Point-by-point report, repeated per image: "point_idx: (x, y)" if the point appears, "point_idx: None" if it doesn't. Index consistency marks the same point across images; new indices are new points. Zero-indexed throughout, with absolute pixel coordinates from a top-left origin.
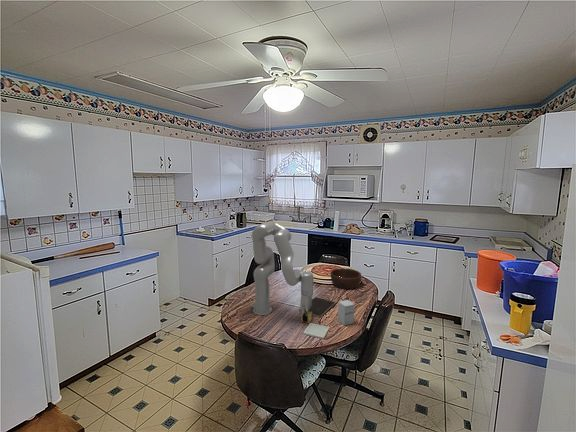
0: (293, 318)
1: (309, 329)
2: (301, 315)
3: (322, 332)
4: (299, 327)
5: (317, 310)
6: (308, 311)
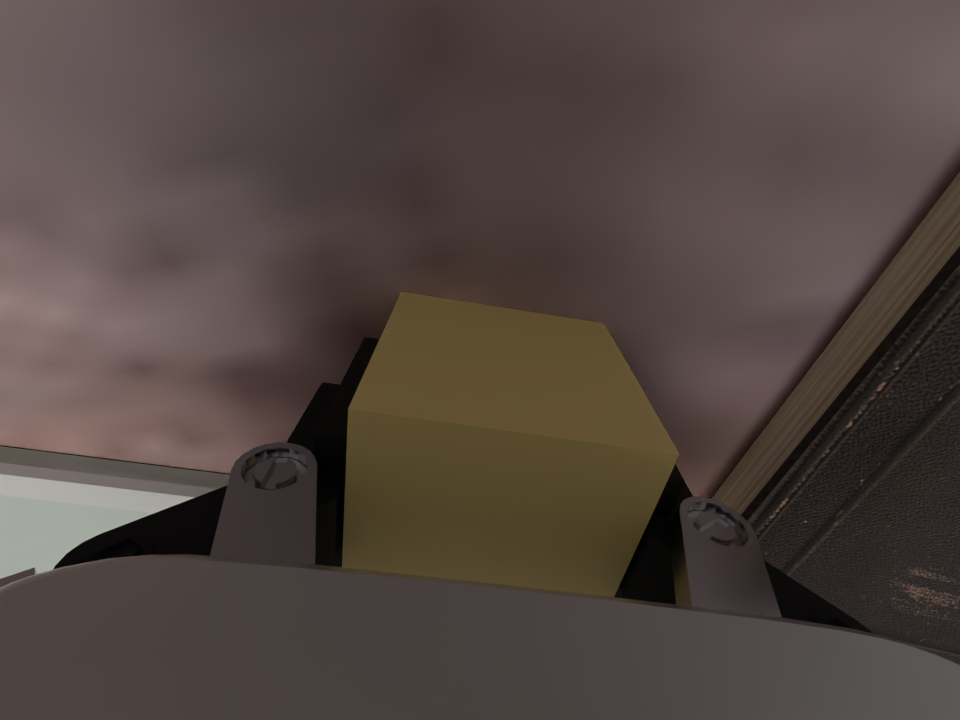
0: (482, 2)
1: (97, 518)
2: (369, 367)
3: None
4: (87, 308)
5: (877, 583)
6: (590, 581)
